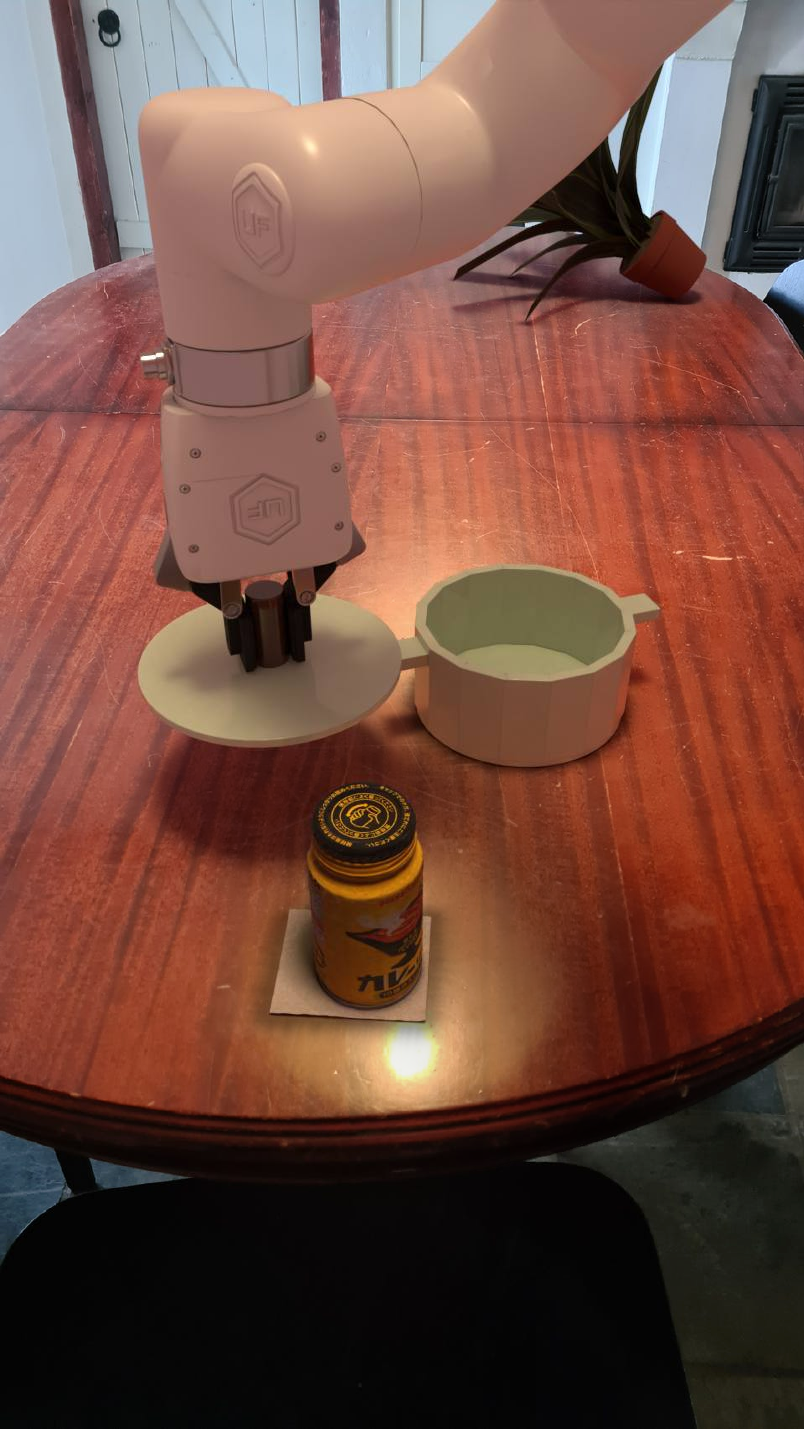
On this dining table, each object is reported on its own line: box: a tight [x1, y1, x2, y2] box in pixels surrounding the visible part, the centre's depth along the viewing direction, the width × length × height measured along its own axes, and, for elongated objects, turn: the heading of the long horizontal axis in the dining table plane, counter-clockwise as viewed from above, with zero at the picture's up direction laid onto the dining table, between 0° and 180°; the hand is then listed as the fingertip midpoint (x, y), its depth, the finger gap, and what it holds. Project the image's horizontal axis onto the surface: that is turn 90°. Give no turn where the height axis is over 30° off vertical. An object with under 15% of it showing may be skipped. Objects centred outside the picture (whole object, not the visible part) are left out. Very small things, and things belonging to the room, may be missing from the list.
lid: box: [136, 579, 402, 749], centre depth 64 cm, size 17×17×6 cm
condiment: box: [269, 781, 432, 1022], centre depth 55 cm, size 7×8×12 cm
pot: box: [397, 563, 661, 768], centre depth 76 cm, size 16×21×8 cm
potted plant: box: [452, 62, 708, 324], centre depth 152 cm, size 45×39×43 cm
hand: (270, 653), depth 65 cm, fingers closed on lid, 2 cm apart
